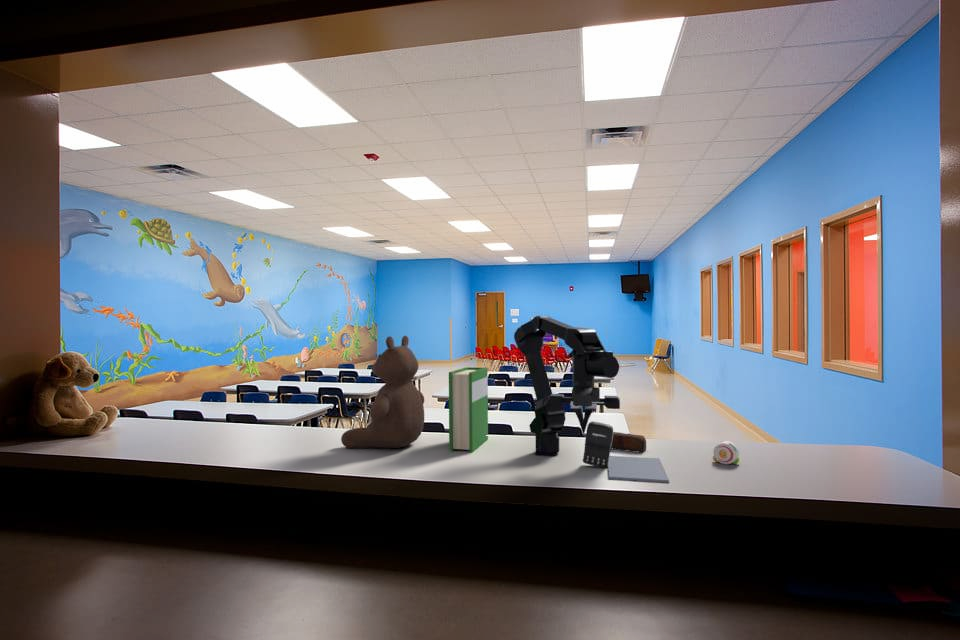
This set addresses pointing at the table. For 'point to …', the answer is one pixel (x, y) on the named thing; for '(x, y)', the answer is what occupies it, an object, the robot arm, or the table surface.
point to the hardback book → (468, 408)
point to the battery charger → (598, 444)
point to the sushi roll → (726, 453)
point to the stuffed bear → (392, 403)
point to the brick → (628, 442)
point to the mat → (636, 469)
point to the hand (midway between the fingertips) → (583, 433)
